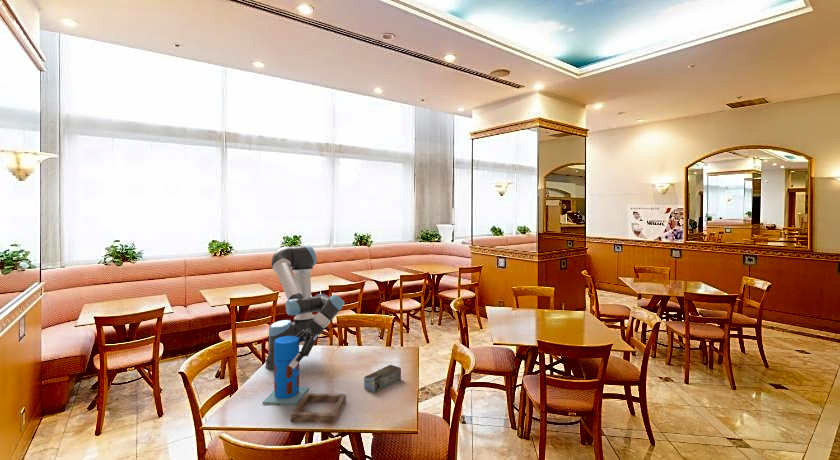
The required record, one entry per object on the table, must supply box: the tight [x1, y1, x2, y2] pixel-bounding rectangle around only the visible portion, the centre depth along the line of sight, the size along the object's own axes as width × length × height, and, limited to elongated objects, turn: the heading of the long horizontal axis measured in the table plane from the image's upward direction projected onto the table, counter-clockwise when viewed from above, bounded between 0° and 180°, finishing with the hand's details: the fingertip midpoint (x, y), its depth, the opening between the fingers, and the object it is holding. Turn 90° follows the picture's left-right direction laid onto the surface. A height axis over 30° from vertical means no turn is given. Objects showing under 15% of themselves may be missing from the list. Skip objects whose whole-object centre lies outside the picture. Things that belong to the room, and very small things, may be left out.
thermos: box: [273, 336, 300, 399], centre depth 173 cm, size 11×11×25 cm
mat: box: [262, 386, 309, 406], centre depth 173 cm, size 15×15×1 cm
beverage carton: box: [363, 364, 402, 393], centre depth 187 cm, size 8×19×7 cm, turn 142°
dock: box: [290, 392, 347, 424], centre depth 161 cm, size 18×18×3 cm
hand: (286, 362), depth 172 cm, fingers open, 13 cm apart
